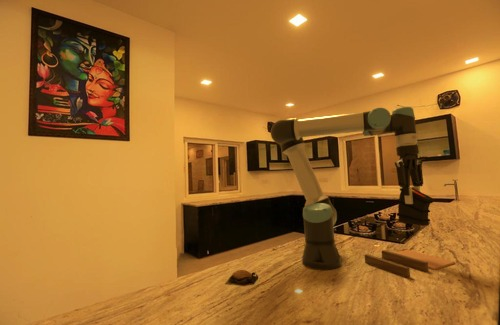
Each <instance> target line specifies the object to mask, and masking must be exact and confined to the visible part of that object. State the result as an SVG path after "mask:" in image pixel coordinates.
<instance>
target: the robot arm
mask: <svg viewBox="0 0 500 325" xmlns="http://www.w3.org/2000/svg"><path fill="white" fill-rule="evenodd" d="M360 132H362V134H363V136H364V137H369V136H370V137H373V136H378V135H386V134H394V143H395V146H396V148H395V149H396V150H395V151H396V155H397V157H399V160H398V161H395V162H394V165H395V169H396V176H397V184H398V186H399V187H400V188H402V187H403V190H404V196H405V204H413V196H412V188H413V189H415V190H417V191H419V192H421V188H420V187H423V185H424V177H423V176H424V174H423V160H419V159H418V157H417V155H419V153H420V150H419V145H418V135H417V126H416V117H415V111H414V108H413V107H411V106H401V107H399V108H394V109H393V110H392V112H391V113H390V111H389V110H388V109H386V108H385V107H376V108H374V109H372V110H369V111H363V112H353V113H352V112H351V113H344V114H337V115H330V116H329V115H328V116H320V117H313V118H303V119H299V118H298V117H293V118H283V119H279V120H277V121H275V122H274V124H272V126H271V128H270V137H271V139H272V140H273V141H274V142H275V143H276V144H278V145H279V147H280V149H281V151H282V154H284V155H286V156H287V158H288V160H289V163H290V165H291V167H292V170H293V173H294V174H295V177H296V180H297V182H298V184H299V187H300V189H301V191H302V194H303V196H304V199H305V200H306V201H305V203H304V207H302V218H303V231H304V241H305V243H304V244H305V245H304V248H303V253H302V256H301V257H302V259H301V262H302V264H303V266H305V267H307V268H308V269H309V268H310V269H313V270H320V271H321V270H323V271H325V270H334V269H337V268H339V267H341V265H342V259H341V256H340V253H339V250H338V248H337V246H336V242H335V230H334V226H335V225H336V223H337V220H338V212H337V210H336V208H335V207H334V205H333V204H332V202H331V200H330V197H329V196H328V195H325V194H324V192H323V190H322V187H321V185H320V183H319V180H318V178H317V175H316V174H315V172H314V169H313V167H312V165H311V162H310V160H309V157H308V156H307V152H306V151H305V149H304V148H305V146H306V143H305V140H304V139H303V138H306V137H307V138H308V137H317V136H325V135H326V136H327V135H328V136H329V135H338V134H339V135H340V134H349V133H360ZM411 182H412V183H411ZM411 184H412V186H410V185H411Z"/></svg>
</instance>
